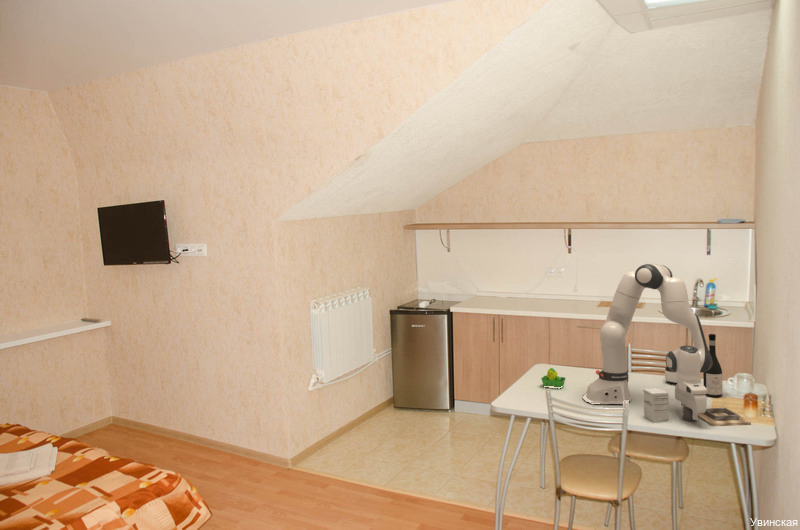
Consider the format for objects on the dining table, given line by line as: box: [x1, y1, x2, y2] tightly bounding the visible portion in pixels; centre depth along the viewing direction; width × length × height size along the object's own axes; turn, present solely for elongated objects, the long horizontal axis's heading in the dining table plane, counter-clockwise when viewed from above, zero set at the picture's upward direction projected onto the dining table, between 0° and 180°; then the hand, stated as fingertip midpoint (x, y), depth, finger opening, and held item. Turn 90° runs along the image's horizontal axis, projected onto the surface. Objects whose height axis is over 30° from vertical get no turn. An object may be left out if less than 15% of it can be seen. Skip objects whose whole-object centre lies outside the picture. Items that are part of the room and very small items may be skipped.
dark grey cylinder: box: [682, 407, 698, 423], centre depth 238 cm, size 5×5×5 cm
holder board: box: [697, 407, 752, 427], centre depth 238 cm, size 16×16×3 cm
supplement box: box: [643, 387, 669, 423], centre depth 241 cm, size 7×7×13 cm
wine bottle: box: [702, 333, 723, 398], centre depth 269 cm, size 8×8×30 cm
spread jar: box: [664, 365, 678, 386], centre depth 295 cm, size 12×11×12 cm
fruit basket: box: [540, 367, 566, 387], centre depth 295 cm, size 11×9×11 cm
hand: (689, 416), depth 238 cm, fingers open, 6 cm apart
